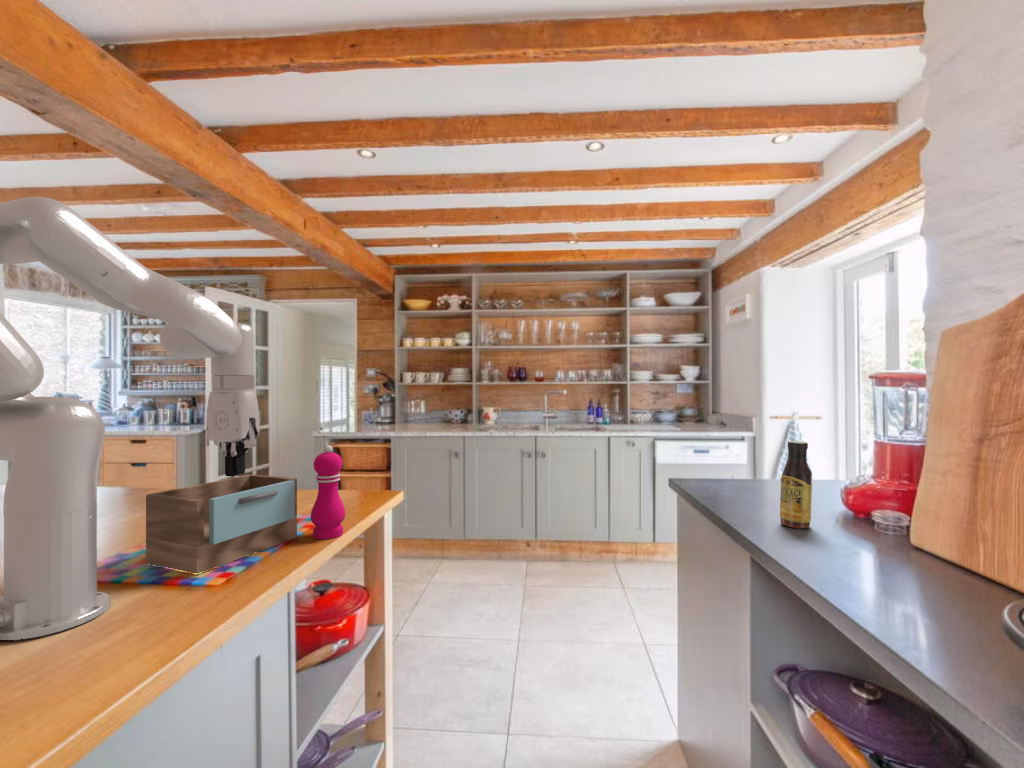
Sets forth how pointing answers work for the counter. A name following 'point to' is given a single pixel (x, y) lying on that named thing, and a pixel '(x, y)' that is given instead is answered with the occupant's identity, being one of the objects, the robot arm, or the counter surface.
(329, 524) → the pepper mill
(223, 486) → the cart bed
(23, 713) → the counter surface
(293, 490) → the panel
